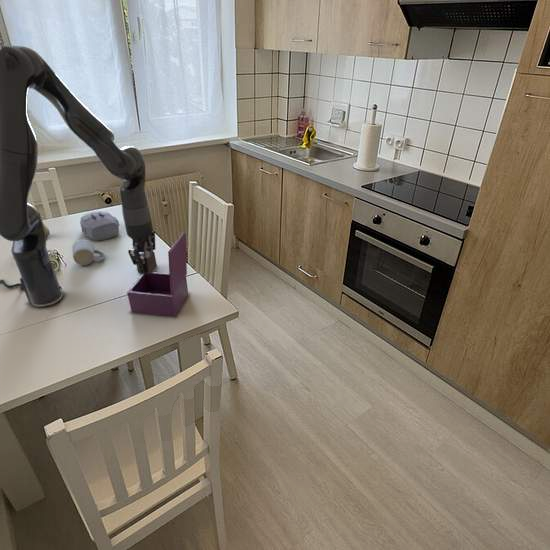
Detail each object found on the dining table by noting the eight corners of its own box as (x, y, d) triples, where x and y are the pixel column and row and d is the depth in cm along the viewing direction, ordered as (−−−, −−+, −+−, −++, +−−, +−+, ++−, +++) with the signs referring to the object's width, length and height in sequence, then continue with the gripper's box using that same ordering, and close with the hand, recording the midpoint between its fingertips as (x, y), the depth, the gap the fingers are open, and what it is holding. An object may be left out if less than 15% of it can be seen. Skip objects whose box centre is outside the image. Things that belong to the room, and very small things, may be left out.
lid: (168, 251, 111) (170, 252, 110) (183, 232, 121) (185, 232, 121) (170, 295, 119) (173, 295, 119) (184, 273, 129) (186, 273, 129)
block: (138, 272, 121) (134, 257, 118) (144, 265, 125) (141, 250, 122) (151, 274, 121) (148, 258, 118) (157, 266, 125) (154, 251, 122)
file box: (131, 312, 125) (126, 292, 121) (147, 290, 136) (144, 271, 131) (175, 316, 123) (172, 296, 119) (188, 294, 134) (185, 274, 130)
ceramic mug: (75, 268, 147) (70, 250, 143) (75, 258, 153) (70, 240, 149) (105, 263, 151) (101, 245, 147) (104, 253, 157) (100, 236, 153)
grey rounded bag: (125, 234, 171) (110, 219, 184) (121, 217, 166) (106, 202, 180) (89, 244, 163) (76, 227, 176) (84, 226, 158) (71, 210, 172)
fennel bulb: (38, 234, 170) (29, 208, 163) (50, 232, 172) (42, 206, 165) (37, 240, 165) (28, 213, 159) (50, 238, 167) (41, 212, 161)
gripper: (136, 208, 120) (145, 257, 129) (113, 228, 108) (125, 280, 117) (159, 210, 119) (167, 258, 128) (139, 230, 107) (149, 282, 116)
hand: (147, 268), depth 123 cm, fingers closed on block, 4 cm apart
